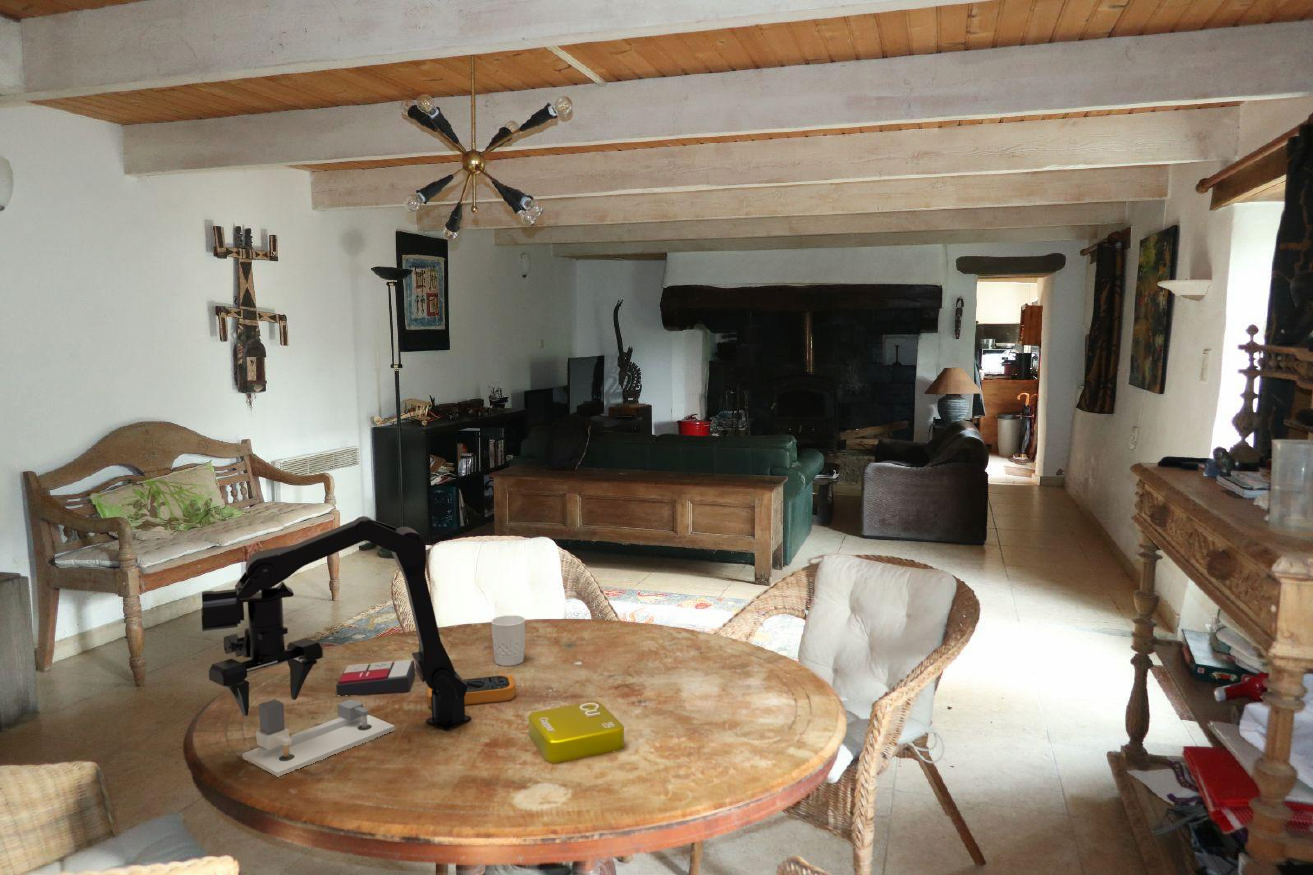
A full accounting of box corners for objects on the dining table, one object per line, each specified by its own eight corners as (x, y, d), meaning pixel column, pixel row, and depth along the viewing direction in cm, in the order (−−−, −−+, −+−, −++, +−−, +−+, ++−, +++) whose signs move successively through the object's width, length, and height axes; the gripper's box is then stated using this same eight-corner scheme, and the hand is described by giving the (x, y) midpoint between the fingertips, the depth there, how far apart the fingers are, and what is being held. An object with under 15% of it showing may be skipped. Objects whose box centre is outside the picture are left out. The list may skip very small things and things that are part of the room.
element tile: (526, 734, 171) (525, 710, 171) (599, 720, 177) (598, 697, 177) (549, 767, 158) (548, 741, 157) (627, 750, 164) (627, 725, 163)
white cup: (488, 658, 212) (487, 617, 211) (520, 653, 216) (519, 613, 215) (497, 669, 205) (496, 627, 204) (530, 664, 209) (529, 622, 208)
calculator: (345, 663, 200) (414, 656, 202) (347, 682, 201) (415, 675, 203) (335, 681, 189) (407, 674, 191) (337, 701, 190) (409, 693, 192)
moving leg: (299, 752, 160) (297, 707, 159) (278, 760, 157) (276, 714, 156) (278, 742, 164) (275, 697, 164) (257, 749, 161) (254, 704, 160)
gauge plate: (395, 730, 172) (394, 707, 172) (277, 778, 153) (276, 752, 153) (358, 715, 180) (357, 693, 179) (242, 759, 161) (241, 734, 160)
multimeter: (517, 702, 187) (516, 686, 187) (428, 712, 182) (428, 695, 182) (512, 687, 195) (512, 672, 195) (427, 696, 190) (427, 680, 190)
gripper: (290, 603, 172) (294, 682, 173) (191, 627, 157) (196, 713, 158) (323, 613, 165) (326, 695, 166) (222, 639, 150) (227, 728, 152)
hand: (270, 707), depth 161 cm, fingers open, 9 cm apart
